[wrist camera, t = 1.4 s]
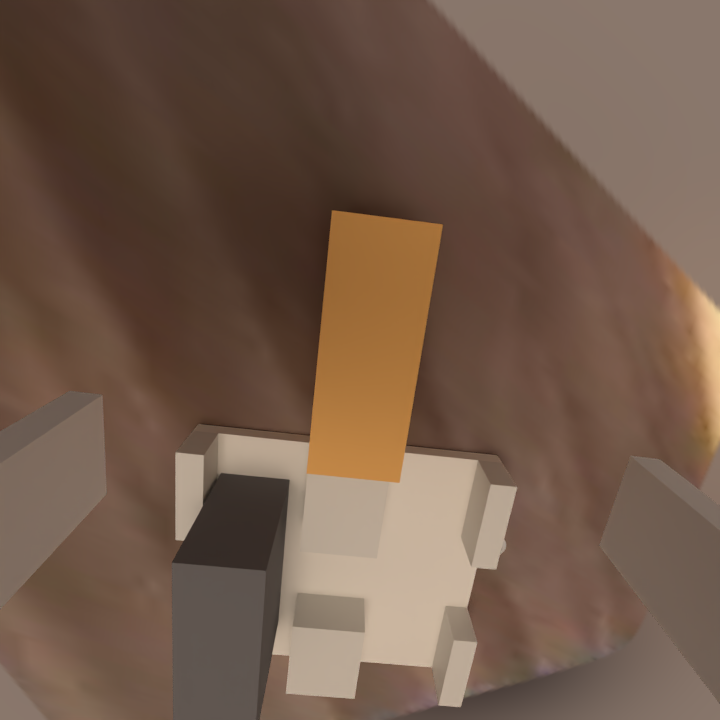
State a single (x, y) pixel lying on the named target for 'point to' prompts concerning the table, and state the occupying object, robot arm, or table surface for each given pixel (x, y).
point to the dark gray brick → (228, 599)
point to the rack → (366, 554)
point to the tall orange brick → (370, 343)
